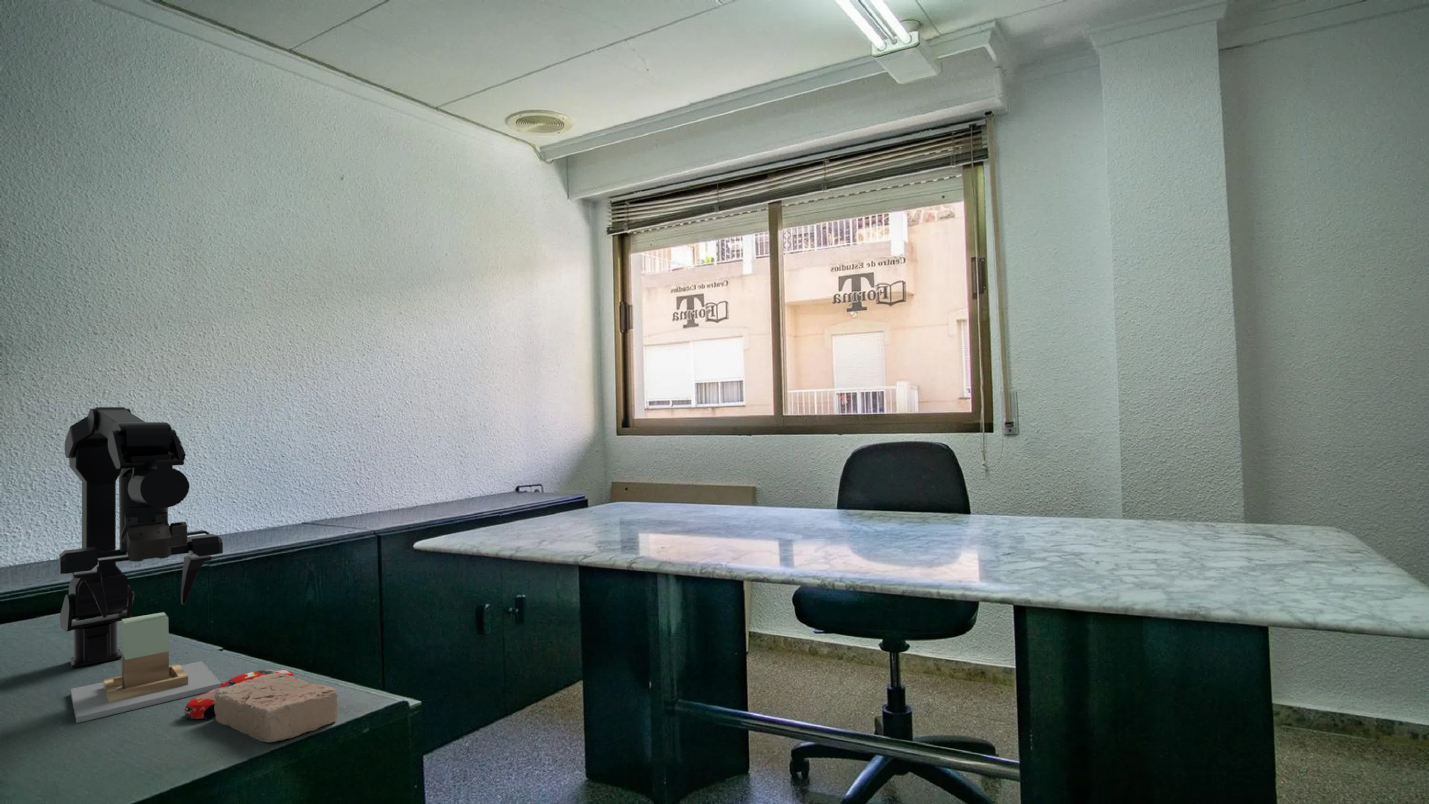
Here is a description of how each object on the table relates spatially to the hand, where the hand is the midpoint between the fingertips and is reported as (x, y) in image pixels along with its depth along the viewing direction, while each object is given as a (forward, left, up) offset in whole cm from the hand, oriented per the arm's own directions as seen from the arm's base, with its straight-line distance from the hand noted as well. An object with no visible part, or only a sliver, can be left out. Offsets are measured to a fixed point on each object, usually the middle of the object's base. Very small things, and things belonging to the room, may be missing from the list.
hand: (145, 610), depth 105 cm
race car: (+18, +9, -12) cm, 23 cm away
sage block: (0, 0, -6) cm, 6 cm away
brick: (+29, +10, -12) cm, 33 cm away
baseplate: (0, 0, -12) cm, 12 cm away
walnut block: (0, 0, -11) cm, 11 cm away
